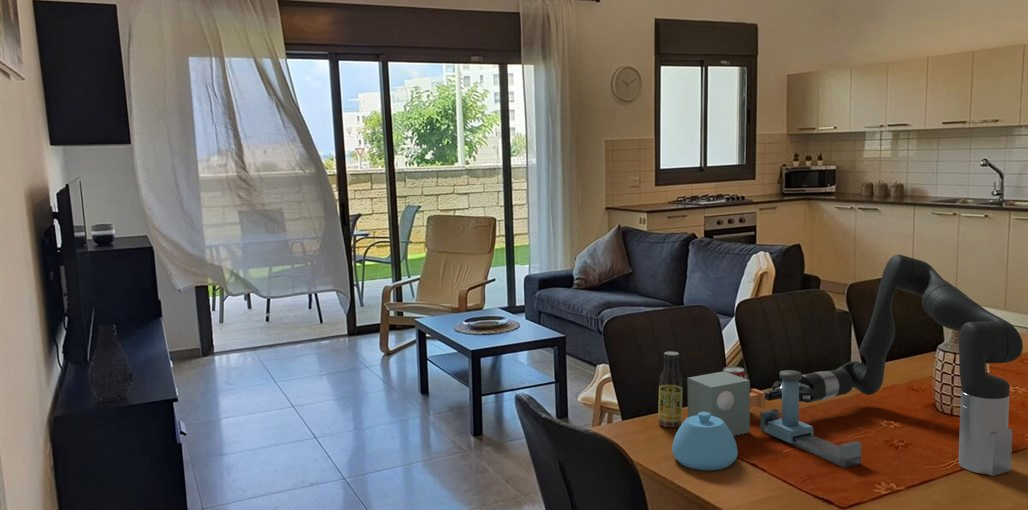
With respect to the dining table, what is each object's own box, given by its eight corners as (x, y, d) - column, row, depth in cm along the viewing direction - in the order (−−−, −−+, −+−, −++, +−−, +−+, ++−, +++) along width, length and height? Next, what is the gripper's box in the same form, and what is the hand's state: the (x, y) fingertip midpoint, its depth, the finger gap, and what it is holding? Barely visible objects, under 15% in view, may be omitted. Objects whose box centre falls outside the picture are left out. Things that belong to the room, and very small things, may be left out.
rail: (860, 463, 179) (861, 442, 179) (844, 467, 177) (845, 446, 177) (775, 427, 205) (775, 408, 204) (760, 430, 203) (760, 412, 202)
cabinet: (751, 433, 201) (751, 380, 199) (713, 441, 196) (712, 388, 195) (724, 421, 211) (724, 371, 209) (688, 429, 206) (687, 377, 204)
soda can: (744, 406, 223) (744, 365, 221) (749, 414, 216) (749, 372, 214) (719, 406, 223) (718, 365, 222) (723, 414, 216) (723, 372, 215)
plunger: (764, 407, 203) (764, 392, 202) (739, 412, 200) (739, 397, 199) (754, 403, 207) (754, 388, 206) (729, 408, 203) (729, 393, 203)
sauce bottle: (657, 428, 208) (656, 355, 205) (659, 420, 214) (657, 349, 211) (682, 429, 206) (681, 356, 204) (683, 421, 212) (682, 350, 210)
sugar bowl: (660, 454, 190) (659, 408, 188) (713, 444, 195) (712, 399, 193) (695, 477, 176) (694, 428, 174) (750, 466, 181) (750, 418, 179)
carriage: (813, 437, 194) (813, 374, 192) (790, 443, 191) (790, 379, 189) (790, 428, 202) (790, 367, 200) (767, 433, 199) (767, 371, 197)
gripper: (799, 367, 218) (749, 376, 211) (835, 379, 206) (784, 388, 199) (799, 393, 219) (749, 403, 212) (835, 406, 207) (784, 417, 200)
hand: (766, 396), depth 205 cm, fingers closed
